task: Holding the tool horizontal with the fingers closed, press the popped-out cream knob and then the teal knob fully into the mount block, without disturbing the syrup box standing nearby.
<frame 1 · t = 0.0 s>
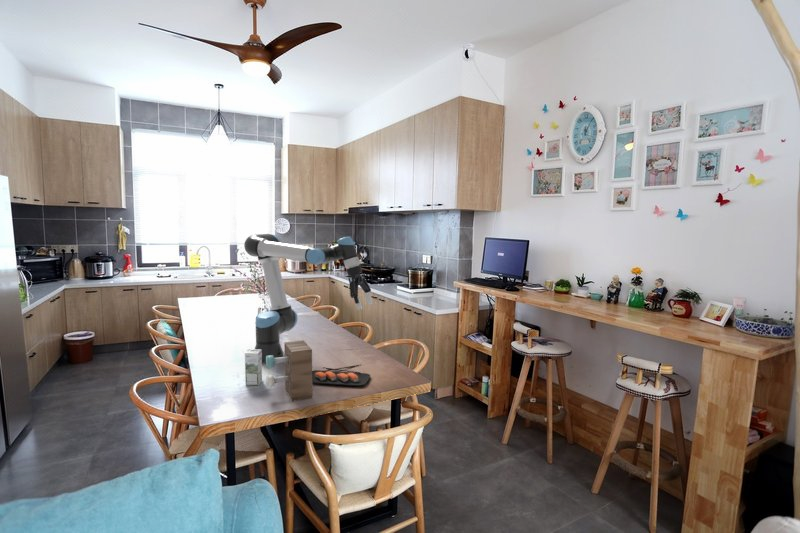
hand: (365, 307, 210), 28 cm above the table, tool tilted 20°, fingers open, 13 cm apart
sushi plate: (341, 375, 193), on the table
mount block: (298, 393, 170), on the table
teal knob: (280, 360, 166), point 15 cm above the table, slide at 5.5 cm
cream knob: (280, 379, 167), point 7 cm above the table, slide at 5.5 cm
syrup box: (254, 383, 181), on the table
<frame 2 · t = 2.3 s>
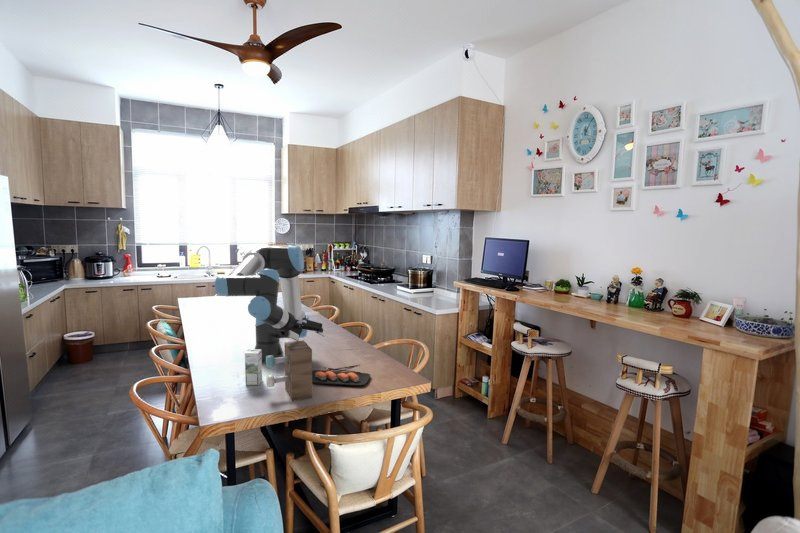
hand: (311, 335, 175), 22 cm above the table, tool tilted 60°, fingers open, 12 cm apart
nothing on the table moved.
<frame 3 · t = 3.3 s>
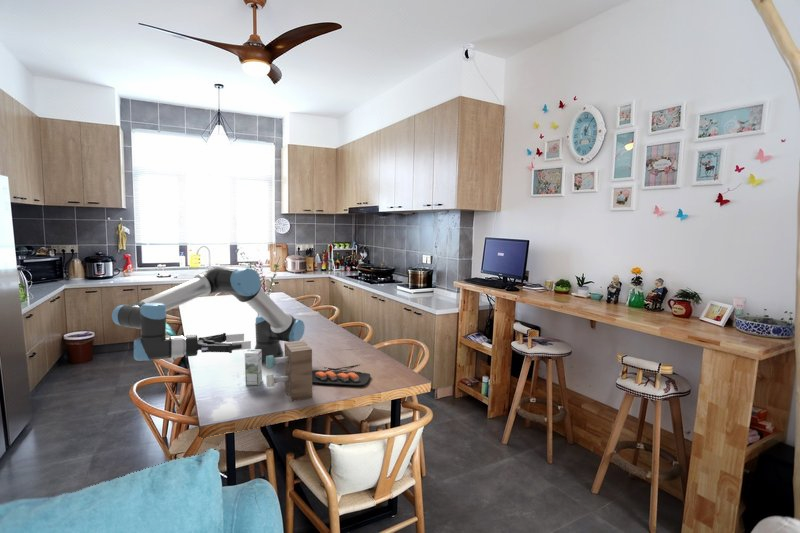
hand: (247, 340, 159), 24 cm above the table, tool horizontal, fingers open, 13 cm apart
nothing on the table moved.
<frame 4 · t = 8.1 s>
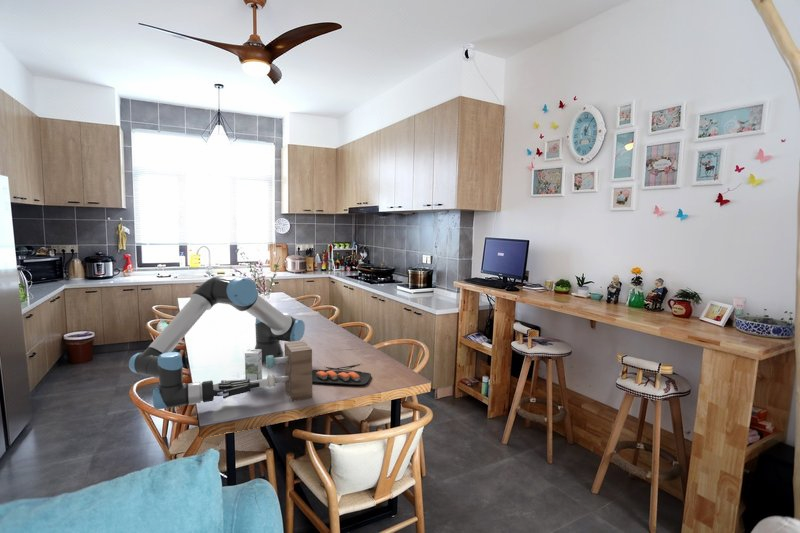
hand: (267, 382, 164), 7 cm above the table, tool horizontal, fingers closed
cream knob: (281, 379, 167), point 7 cm above the table, slide at 5.2 cm, touching gripper
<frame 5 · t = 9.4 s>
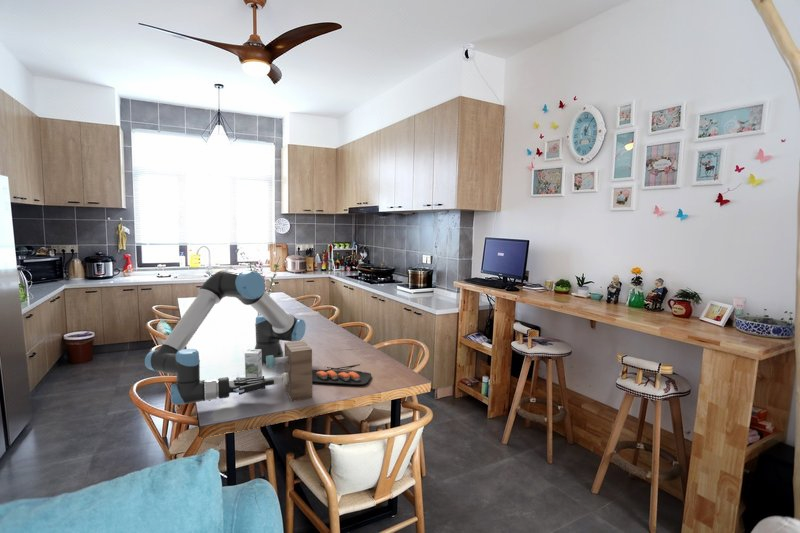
hand: (281, 379, 167), 7 cm above the table, tool horizontal, fingers closed
cream knob: (295, 377, 169), point 7 cm above the table, slide at -0.3 cm, touching gripper, mount block
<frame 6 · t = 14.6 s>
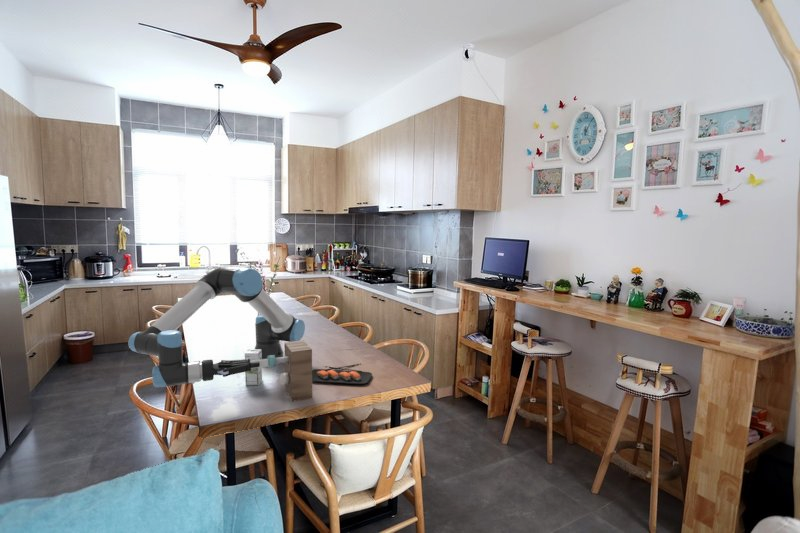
hand: (267, 362, 163), 15 cm above the table, tool horizontal, fingers closed
teal knob: (281, 359, 166), point 15 cm above the table, slide at 4.9 cm, touching gripper
cream knob: (294, 377, 169), point 7 cm above the table, slide at -0.1 cm
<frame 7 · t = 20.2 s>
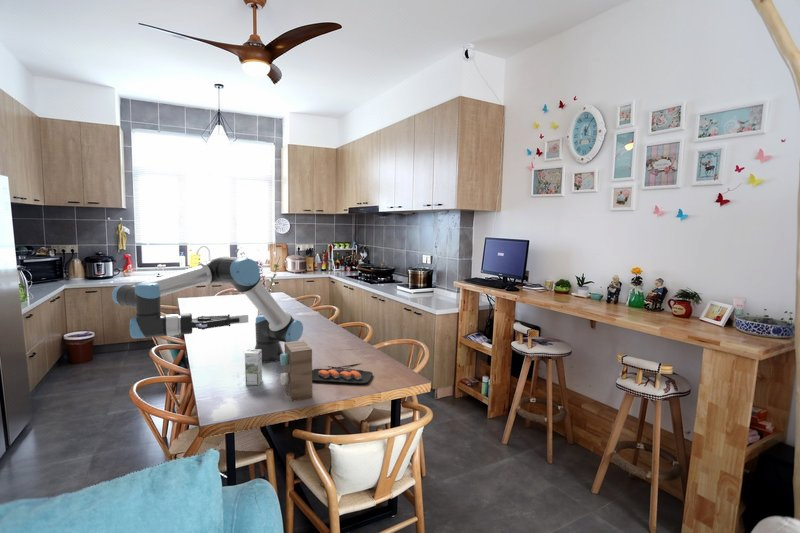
hand: (248, 318, 163), 32 cm above the table, tool horizontal, fingers closed
teal knob: (294, 358, 168), point 15 cm above the table, slide at -0.1 cm
at the end: cream knob slide at -0.1 cm; teal knob slide at -0.1 cm; syrup box moved 0.2 cm from its start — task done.
